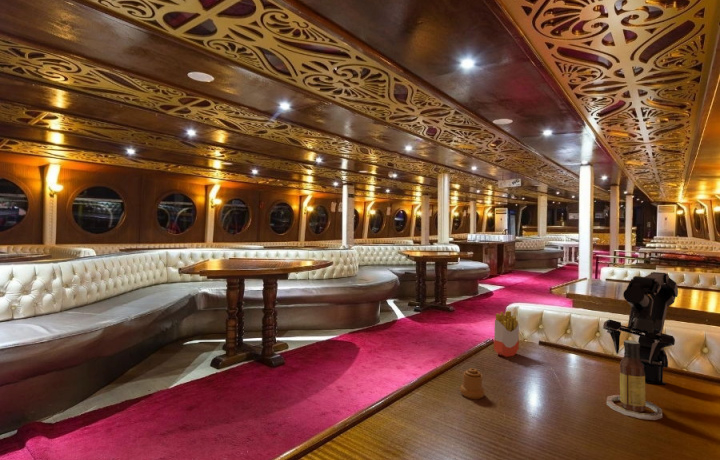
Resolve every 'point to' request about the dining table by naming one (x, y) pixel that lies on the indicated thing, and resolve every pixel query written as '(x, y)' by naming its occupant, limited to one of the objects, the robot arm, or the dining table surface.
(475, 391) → the ornamental finial
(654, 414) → the white faceted ring
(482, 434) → the dining table surface
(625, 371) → the sauce bottle
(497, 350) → the french fries container
